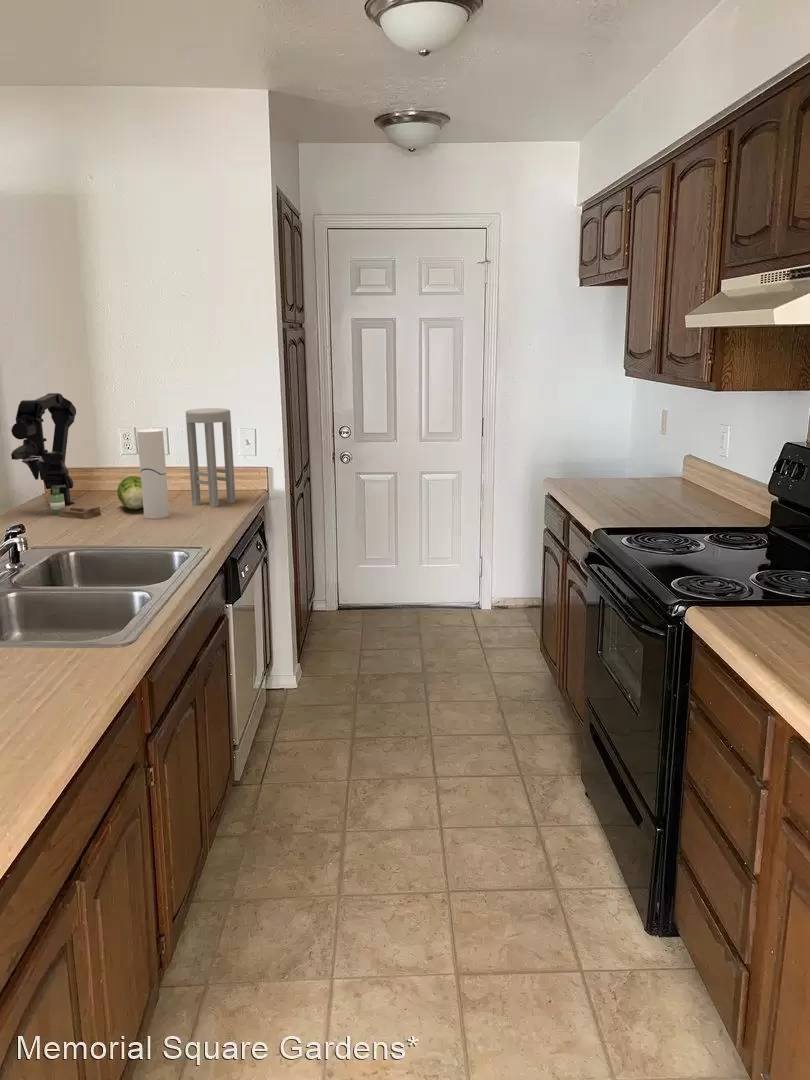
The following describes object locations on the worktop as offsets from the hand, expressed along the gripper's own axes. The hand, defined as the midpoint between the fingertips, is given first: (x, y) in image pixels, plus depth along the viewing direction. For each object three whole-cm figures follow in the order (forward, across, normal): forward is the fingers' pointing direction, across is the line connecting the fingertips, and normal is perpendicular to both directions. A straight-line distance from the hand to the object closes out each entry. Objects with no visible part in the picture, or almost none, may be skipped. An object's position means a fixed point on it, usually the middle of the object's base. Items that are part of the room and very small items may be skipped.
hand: (39, 479), depth 299 cm
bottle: (+12, +7, 0) cm, 14 cm away
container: (+12, +43, +9) cm, 46 cm away
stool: (+12, +49, +35) cm, 61 cm away
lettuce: (+12, +28, +16) cm, 35 cm away
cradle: (+12, +16, 0) cm, 20 cm away
